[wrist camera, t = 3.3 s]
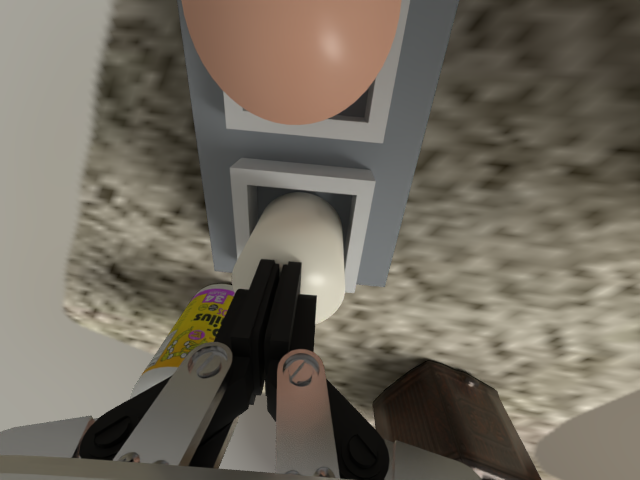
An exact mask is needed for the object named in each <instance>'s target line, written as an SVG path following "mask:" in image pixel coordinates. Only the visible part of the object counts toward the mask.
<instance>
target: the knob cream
mask: <svg viewBox="0 0 640 480" xmlns="http://www.w3.org/2000/svg"><path fill="white" fill-rule="evenodd" d="M261 259H268V260H275V264H279V267H280V268H279V279H280V275H281V271H282V267H283V264H286V265H288V262H289V261H291V262H302V269H301V286H300V294H306V295H317V303H316V319H315V324H317V323H320V322H322V321H324V320H326V319H327V318H329V317H330V316H331V315H332V314H334V313H335V312H336V310H337V309H338V308H339V306H340V305H341V303H342V301H343V299H344V295H345V271H344V252H343V233H342V224H341V220H340V218H339V215H338V214H337V212H336V211H335V209H334V208H333V207H332V206H331V205H330V204H329V203H328V202H327V201H325V200H324V199H322V198H320V197H318V196H316V195H313V194H310V193H304V192H294V193H288V194H284V195H282V196H280V197H278V198H276V199H274V200H273V201H272V202H271V203H270V204H269V205H268V206H267V207H266V208H265V210H264V212H263V213H262V215H261V217H260V219H259V221H258V223H257V225H256V226H255V228H254V230H253V232H252V234H251V236H250V238H249V239H248V241H247V243H246V245H245V247H244V249H243V251H242V252H241V254H240V256H239V258H238V260H237V262H236V264H235V265H234V268H233V272H232V286H233V290H234V293H236V291H237V290H238V289H248V290H249V288H250V285H251V283H252V280H253V278H254V275H255V273H256V270H257V267H258V265H259V262H260V260H261Z"/></svg>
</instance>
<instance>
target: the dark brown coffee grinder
mask: <svg viewBox="0 0 640 480" xmlns="http://www.w3.org/2000/svg"><path fill="white" fill-rule="evenodd" d="M373 409H374V418H375V427H376V431H377V432H378V433H379V434H380V436H381V437H382V438H383V439H385V440H388V441H391V442H394V443H395V441H396V440H398V441H400V442H403V443H406V444H409V445H412V446H415V447H418V448H421V449H424V450H427V451H429V452H432V453H435V454H438V455H441V456H444V457H447V458H450V459H453V460H455V461H458V462H461V463H463V464H465V465H467V466H469V467H470V468H472V469H473V470H474V471H475V472H476V473H477V474H478V475H479V476H480V478H481V479H482V480H541V478H540V476H539V474H538V472H537V470H536V468H535V466H534V464H533V462H532V460H531V458H530V456H529V454H528V452H527V451H526V449H525V447H524V445H523V443H522V441H521V439H520V437H519V435H518V433H517V431H516V429H515V428H514V426H513V424H512V422H511V420H510V418H509V416H508V414H507V412H506V410H505V408H504V406H503V404H502V402H501V400H500V399H499V395H498V392H497V390H495V389H493V388H491V387H489V386H487V385H486V384H484V383H482V382H480V381H479V380H477V379H475V378H473V377H472V376H470V375H468V374H466V373H463V372H461V371H457V370H455V369H452V368H450V367H447V366H445V365H442V364H438V363H435V362H431V361H427V362H425V363H423V364H421V365H419V366H417V367H416V368H414V369H412V370H410V371H409V372H408V373H406V374H405V375H404V376H402V377H401V378H400V379H398V380H397V381H396V382H395V383H393V384H392V385H391V386H389V387H388V388H387V389H385V390H384V391H383V392H382V393H381V394H380V395H379V397H378V398H377V399H376V400H375V401H374V402H373Z"/></svg>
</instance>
